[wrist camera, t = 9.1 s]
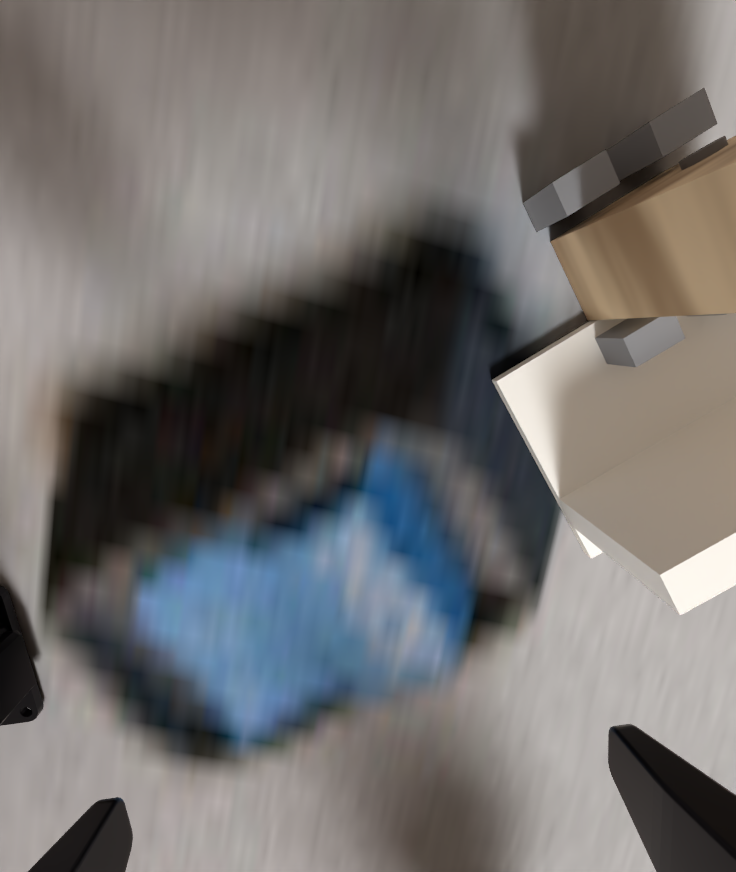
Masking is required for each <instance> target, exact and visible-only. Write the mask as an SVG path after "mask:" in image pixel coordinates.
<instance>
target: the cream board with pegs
mask: <svg viewBox="0 0 736 872" xmlns="http://www.w3.org/2000/svg"><path fill="white" fill-rule="evenodd" d="M716 124H717V121H716V119H715V116H714V113H713V110H712V108H711V105H710V102H709V99H708V97H707V94H706V91H705V88H703V89H701V90H700V91H698V92H696V93H695V94H693V95H692V96H690V97H688V98H687V99H685V100H684V101H682V102H680V103H679V104H677V105H676V106H674V107H672V108H671V109H669V110H668V111H666V112H664V113H663V114H661V115H660V116H658V117H656V118H655V119H653V120H652V121H650V122H648V123H647V124H645V125H644V126H642V127H641V128H640V129H638V130H637V131H635V132H634V133H632V134H631V135H629V136H628V137H626V138H625V139H623V140H622V141H620V142H619V143H617V144H616V145H614V146H613V147H611V148H610V149H608V150H607V151H606V149H605V150H604V151H602V152H600V153H599V154H597V155H596V156H594V157H592V158H591V159H589V160H588V161H586V162H584V163H583V164H581V165H580V166H578V167H576V168H575V169H573V170H572V171H570V172H568V173H567V174H565V175H564V176H562V177H560V178H559V179H557V180H556V181H554V182H552V183H551V184H550V185H548V186H547V187H545V188H544V189H542V190H541V191H539V192H538V193H537V194H535V195H534V196H532V197H531V198H529V199H528V200H527V201H525V202H524V203H523V204H524V206H525V208H526V210H527V213H528V215H529V217H530V219H531V221H532V223H533V225H534V227H535V229H536V232H538V231H540V230H542V229H544V228H546V227H548V226H550V225H552V224H554V223H556V222H557V221H559V220H561V219H563V218H565V217H567V216H569V215H571V214H572V213H574V212H576V211H577V210H579V209H580V208H582V207H584V206H585V205H587V204H588V203H590V202H592V201H593V200H595V199H597V198H598V197H600V196H601V195H603V194H605V193H606V192H608V191H609V190H611V189H613V188H614V187H616V186H618V185H619V184H620V182H619V181H620V180H622V179H624V178H626V177H627V176H629V175H631V174H633V173H635V172H637V171H639V170H640V169H642V168H644V167H646V166H648V165H650V164H652V163H653V162H655V161H657V160H659V159H661V158H663V157H664V156H666V155H668V154H669V153H671V152H672V151H674V150H676V149H677V148H679V147H681V146H682V145H684V144H685V143H687V142H689V141H690V140H692V139H693V138H695V137H697V136H698V135H700V134H702V133H703V132H705V131H706V130H708V129H710V128H711V127H713V126H714V125H716ZM492 382H493V383H494V385H495V387H496V389H497V391H498V393H499V395H500V397H501V398H502V400H503V402H504V404H505V406H506V408H507V410H508V411H509V413H510V415H511V417H512V419H513V421H514V423H515V424H516V426H517V428H518V430H519V432H520V434H521V436H522V438H523V439H524V441H525V443H526V445H527V447H528V449H529V451H530V452H531V454H532V456H533V458H534V460H535V462H536V464H537V465H538V467H539V469H540V471H541V473H542V475H543V477H544V478H545V480H546V482H547V484H548V486H549V488H550V490H551V492H552V493H553V495H554V497H555V499H556V501H557V503H558V505H559V506H560V508H561V510H562V512H563V514H564V516H565V518H566V519H567V521H568V523H569V525H570V527H571V529H572V531H573V533H574V534H575V536H576V538H577V540H578V542H579V544H580V546H581V547H582V549H583V551H584V553H585V554H586V555H588V556H589V557H590V558H591V559H592V558H594V557H595V556H597V555H599V554H601V553H602V552H604V553H605V554H606V555H608V556H609V557H610V558H611V559H612V560H614V561H615V562H616V563H617V564H618V565H620V566H621V567H622V568H623V569H624V570H626V571H627V572H628V573H629V574H631V575H632V576H633V577H634V578H635V579H637V580H638V581H639V582H640V583H641V584H643V585H644V586H645V587H646V588H647V589H649V590H650V591H651V592H652V593H653V594H655V595H656V596H657V597H658V598H660V599H661V600H662V601H663V602H664V603H666V604H667V605H668V606H669V607H670V608H672V609H673V610H674V611H675V612H676V613H678V614H679V615H682V614H684V613H686V612H687V611H689V610H691V609H693V608H695V607H696V606H698V605H700V604H702V603H704V602H705V601H707V600H709V599H711V598H713V597H715V596H716V595H718V594H720V593H722V592H724V591H725V590H727V589H729V588H731V587H733V586H734V585H736V313H729V314H708V315H688V316H668V317H648V318H628V319H608V320H590V321H589V322H587V323H585V324H584V325H582V326H581V327H579V328H577V329H576V330H574V331H572V332H571V333H569V334H567V335H566V336H564V337H562V338H561V339H559V340H557V341H556V342H554V343H552V344H551V345H549V346H547V347H546V348H544V349H542V350H541V351H539V352H537V353H536V354H534V355H532V356H531V357H529V358H527V359H526V360H524V361H522V362H521V363H519V364H517V365H516V366H514V367H512V368H511V369H509V370H507V371H506V372H504V373H502V374H501V375H499V376H497V377H496V378H494V379H492Z"/></svg>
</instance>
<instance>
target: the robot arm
mask: <svg viewBox="0 0 736 872" xmlns="http://www.w3.org/2000/svg"><path fill="white" fill-rule="evenodd" d="M27 707H28V708H30V709H31V710H30V709H28V708H27ZM42 709H43V701H42V698H41V695H40V691H39V688H38V685H37V682H36V679H35V675H34V672H33V669H32V666H31V662H30V659H29V656H28V653H27V650H26V646H25V643H24V640H23V637H22V633H21V630H20V627H19V624H18V621H17V617H16V614H15V611H14V608H13V604H12V601H11V598H10V595H9V593H8V591H7V590H6V589H5V588H4V587H2V586H0V726H1V725H8V724H15V723H23V722H29V721H33V720H34V719H35V718H37V716H38V715H39V714H40V712H41V711H42ZM608 763H609V768H610V772H611V775H612V777H613V780H614V782H615V784H616V786H617V788H618V790H619V792H620V795H621V797H622V799H623V801H624V803H625V805H626V807H627V810H628V812H629V814H630V816H631V818H632V820H633V822H634V825H635V827H636V829H637V831H638V833H639V835H640V838H641V840H642V842H643V844H644V846H645V848H646V850H647V853H648V855H649V857H650V859H651V861H652V863H653V865H654V867H655V869H656V871H657V872H736V795H735V794H733V793H732V792H730V791H729V790H728V789H726V788H725V787H723V786H722V785H720V784H719V783H717V782H716V781H714V780H713V779H712V778H710V777H709V776H707V775H706V774H704V773H703V772H701V771H700V770H698V769H697V768H696V767H694V766H693V765H691V764H690V763H688V762H687V761H685V760H684V759H682V758H681V757H680V756H678V755H677V754H675V753H674V752H672V751H671V750H669V749H668V748H666V747H665V746H664V745H662V744H661V743H659V742H658V741H656V740H655V739H653V738H652V737H650V736H649V735H648V734H646V733H645V732H643V731H642V730H640V729H639V728H637V727H636V726H634V725H631V724H626V725H619V726H613V727H611V728H610V730H609V740H608ZM132 840H133V834H132V828H131V825H130V821H129V818H128V814H127V810H126V807H125V803H124V801H123V800H122V799H121V798H118V797H117V798H110V799H103V800H99V801H97V802H96V803H94V804H93V805H92V806H91V807H90V808H89V809H88V810H87V811H86V812H85V813H84V814H83V815H82V816H81V817H80V819H79V820H78V821H77V822H76V823H75V824H74V825H73V826H72V827H71V828H70V829H69V830H68V831H67V832H66V833H65V834H64V835H63V836H62V837H61V838H60V839H59V840H58V841H57V842H56V843H55V844H54V845H53V846H52V847H51V848H50V849H49V850H48V851H47V852H46V853H45V855H44V856H43V857H42V858H41V859H40V860H39V861H38V862H37V863H36V864H35V865H34V866H33V867H32V868H31V869H30V870H29V871H28V872H125V871H126V867H127V863H128V859H129V855H130V852H131V847H132Z"/></svg>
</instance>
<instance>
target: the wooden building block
mask: <svg viewBox="0 0 736 872" xmlns="http://www.w3.org/2000/svg"><path fill="white" fill-rule="evenodd" d="M551 244H552V246H553V248H554V250H555V252H556V254H557V257H558V259H559V261H560V263H561V265H562V267H563V269H564V271H565V273H566V276H567V278H568V280H569V282H570V284H571V286H572V288H573V290H574V293H575V295H576V297H577V299H578V301H579V303H580V305H581V307H582V310H583V312H584V314H585V316H586V318H587V320H608V319H628V318H648V317H668V316H688V315H708V314H729V313H736V136H734V137H732V138H730V139H728V140H726V137H725V136H723V137H721V138H719V139H717V140H715V141H714V142H712V143H710V144H708V145H706V146H705V147H703V148H701V149H699V150H698V151H696V152H694V153H692V154H691V155H689V156H687V157H686V158H684V159H683V160H681V161H680V162H679V164H678V165H676V166H674V167H672V168H670V169H668V170H666V171H664V172H662V173H661V174H659V175H657V176H656V177H654V178H652V179H651V180H649V181H648V182H646V183H644V184H643V185H641V186H640V187H638V188H636V189H635V190H633V191H631V192H630V193H628V194H627V195H625V196H623V197H622V198H620V199H619V200H617V201H615V202H614V203H612V204H610V205H609V206H607V207H606V208H604V209H602V210H601V211H599V212H597V213H596V214H594V215H593V216H591V217H589V218H588V219H586V220H585V221H583V222H581V223H580V224H578V225H576V226H575V227H573V228H572V229H570V230H568V231H567V232H565V233H564V234H562V235H560V236H559V237H557V238H555V239H554V240H552V241H551Z"/></svg>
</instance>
